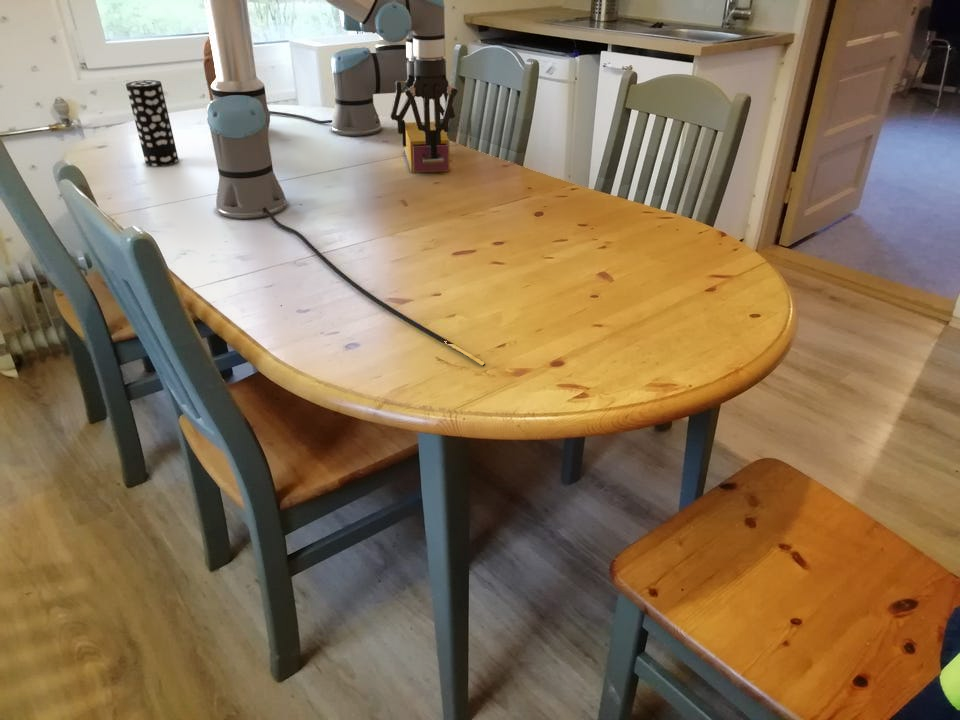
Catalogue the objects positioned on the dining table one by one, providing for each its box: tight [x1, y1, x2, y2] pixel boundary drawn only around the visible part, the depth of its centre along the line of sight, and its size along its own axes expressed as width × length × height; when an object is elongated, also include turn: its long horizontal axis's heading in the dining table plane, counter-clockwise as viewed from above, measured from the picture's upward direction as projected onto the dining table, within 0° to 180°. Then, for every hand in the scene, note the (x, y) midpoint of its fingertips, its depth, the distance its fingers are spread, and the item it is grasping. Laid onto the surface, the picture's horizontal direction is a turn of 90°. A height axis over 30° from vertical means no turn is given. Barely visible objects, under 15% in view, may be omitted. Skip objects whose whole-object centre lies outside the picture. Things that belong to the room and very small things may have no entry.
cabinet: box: [404, 121, 451, 174], centre depth 188 cm, size 19×10×8 cm, turn 11°
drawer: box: [413, 144, 448, 171], centre depth 183 cm, size 23×9×6 cm, turn 11°
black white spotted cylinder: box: [125, 79, 179, 167], centre depth 181 cm, size 8×8×20 cm
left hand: (433, 157), depth 175 cm, fingers closed
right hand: (423, 144), depth 193 cm, fingers closed on cabinet, 10 cm apart
